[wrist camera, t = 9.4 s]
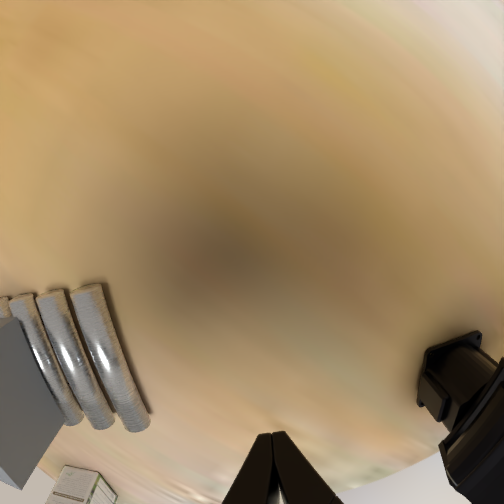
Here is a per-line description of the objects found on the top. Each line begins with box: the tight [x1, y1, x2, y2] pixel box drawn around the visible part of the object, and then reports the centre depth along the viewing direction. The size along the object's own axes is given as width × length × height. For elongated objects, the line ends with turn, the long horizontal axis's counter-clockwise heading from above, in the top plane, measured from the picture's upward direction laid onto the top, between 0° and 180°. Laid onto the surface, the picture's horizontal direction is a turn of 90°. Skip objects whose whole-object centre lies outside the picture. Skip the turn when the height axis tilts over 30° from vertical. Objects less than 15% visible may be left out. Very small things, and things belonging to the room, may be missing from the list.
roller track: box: [0, 284, 151, 432], centre depth 20 cm, size 13×12×2 cm
